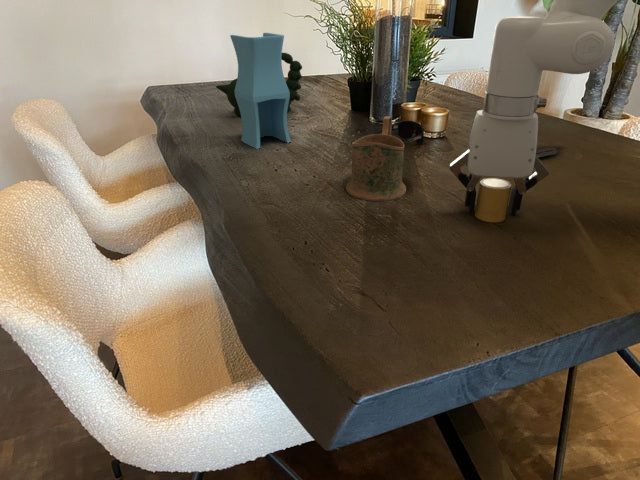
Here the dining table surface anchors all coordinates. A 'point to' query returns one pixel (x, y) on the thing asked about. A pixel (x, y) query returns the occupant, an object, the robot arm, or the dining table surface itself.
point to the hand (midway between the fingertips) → (490, 210)
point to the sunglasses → (409, 131)
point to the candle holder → (492, 200)
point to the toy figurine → (291, 83)
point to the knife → (546, 152)
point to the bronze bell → (377, 166)
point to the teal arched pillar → (261, 88)
